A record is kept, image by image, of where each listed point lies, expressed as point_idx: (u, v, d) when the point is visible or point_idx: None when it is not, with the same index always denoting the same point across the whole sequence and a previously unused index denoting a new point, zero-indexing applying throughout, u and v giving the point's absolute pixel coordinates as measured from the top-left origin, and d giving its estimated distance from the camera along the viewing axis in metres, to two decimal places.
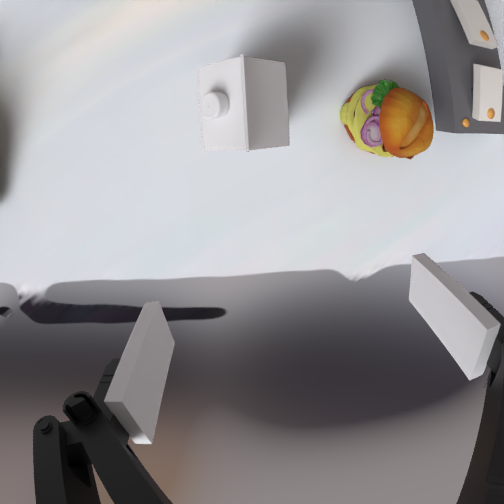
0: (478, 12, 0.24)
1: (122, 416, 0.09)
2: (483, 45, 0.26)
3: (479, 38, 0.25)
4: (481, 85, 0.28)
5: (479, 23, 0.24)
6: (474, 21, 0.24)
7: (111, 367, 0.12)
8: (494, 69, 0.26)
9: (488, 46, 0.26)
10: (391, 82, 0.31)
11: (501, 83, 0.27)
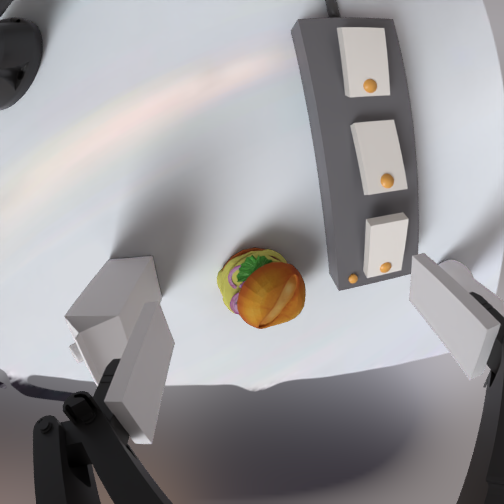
0: (388, 142, 0.31)
1: (123, 415, 0.09)
2: None
3: (376, 189, 0.32)
4: (371, 246, 0.35)
5: (384, 162, 0.31)
6: (376, 162, 0.31)
7: (111, 366, 0.12)
8: (394, 222, 0.33)
9: None
10: (258, 257, 0.39)
11: (404, 233, 0.34)
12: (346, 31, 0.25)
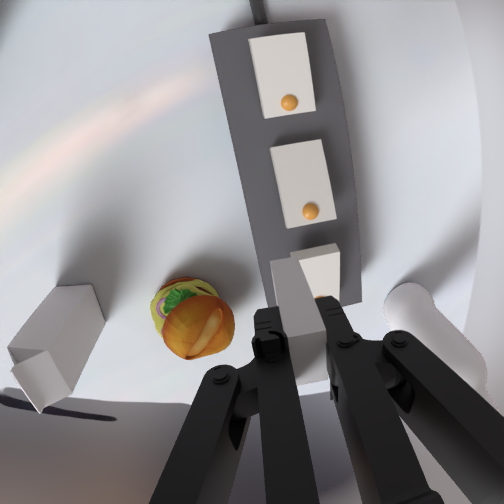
0: (313, 166, 0.29)
1: (298, 352, 0.11)
2: None
3: (297, 221, 0.30)
4: None
5: (307, 190, 0.30)
6: (297, 190, 0.30)
7: (260, 315, 0.14)
8: (321, 256, 0.32)
9: None
10: (182, 291, 0.37)
11: (337, 266, 0.33)
12: (256, 42, 0.23)
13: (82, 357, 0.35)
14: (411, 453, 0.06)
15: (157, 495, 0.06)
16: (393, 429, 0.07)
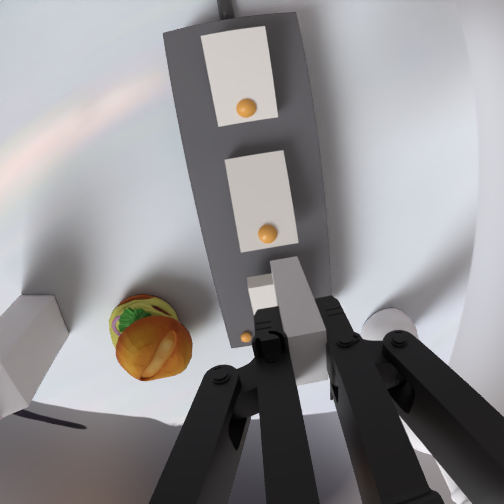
0: (272, 181, 0.26)
1: (298, 352, 0.11)
2: None
3: (252, 244, 0.27)
4: (255, 308, 0.30)
5: (265, 209, 0.26)
6: (253, 209, 0.26)
7: (260, 315, 0.14)
8: None
9: None
10: (135, 310, 0.33)
11: None
12: (207, 40, 0.20)
13: (41, 370, 0.31)
14: (411, 453, 0.06)
15: (157, 495, 0.06)
16: (393, 429, 0.07)
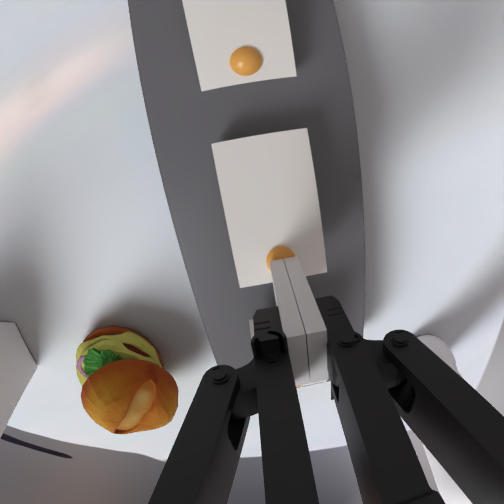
0: (290, 178, 0.16)
1: (297, 352, 0.11)
2: None
3: (257, 276, 0.18)
4: None
5: (277, 222, 0.17)
6: (258, 223, 0.17)
7: (259, 315, 0.14)
8: None
9: None
10: (101, 352, 0.24)
11: None
12: None
13: (3, 414, 0.22)
14: (412, 453, 0.06)
15: (156, 496, 0.06)
16: (394, 429, 0.07)
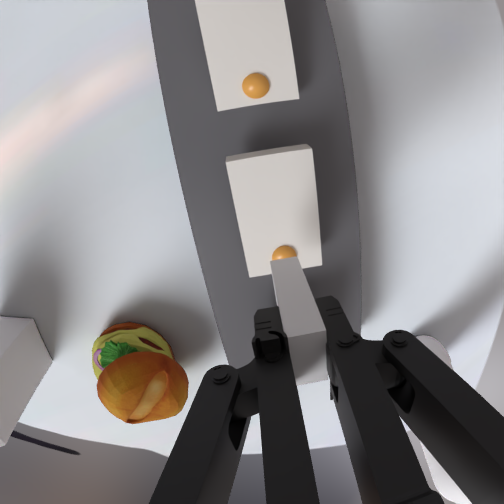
0: (294, 192, 0.18)
1: (298, 352, 0.11)
2: None
3: (264, 269, 0.21)
4: None
5: (282, 227, 0.20)
6: (266, 228, 0.20)
7: (260, 315, 0.14)
8: None
9: None
10: (118, 344, 0.26)
11: None
12: None
13: (19, 404, 0.24)
14: (411, 453, 0.06)
15: (157, 495, 0.06)
16: (393, 429, 0.07)
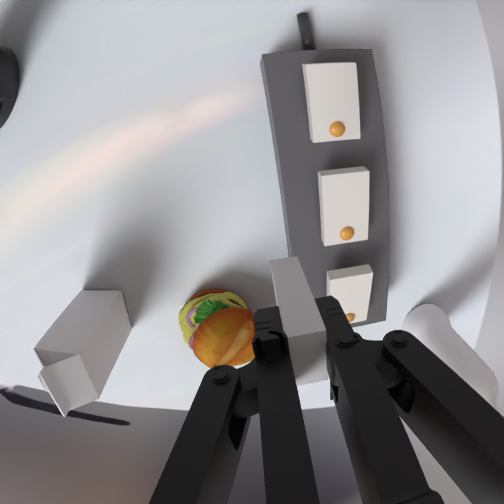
0: (357, 195, 0.30)
1: (298, 352, 0.11)
2: None
3: (334, 240, 0.33)
4: None
5: (347, 215, 0.32)
6: (338, 216, 0.31)
7: (260, 315, 0.14)
8: (356, 276, 0.33)
9: None
10: (214, 302, 0.38)
11: (368, 286, 0.34)
12: (311, 69, 0.25)
13: (110, 362, 0.36)
14: (411, 453, 0.06)
15: (157, 495, 0.06)
16: (393, 429, 0.07)
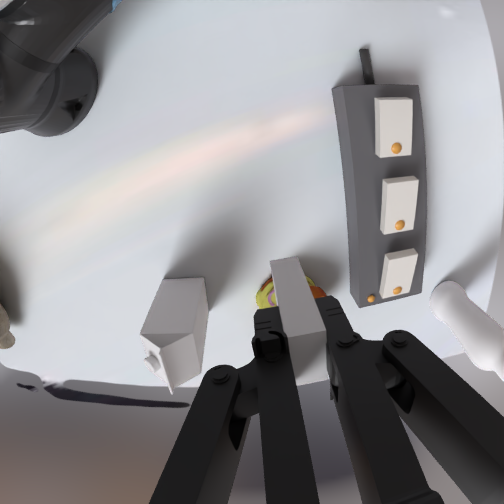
0: (409, 197, 0.39)
1: (298, 352, 0.11)
2: None
3: (390, 230, 0.42)
4: (388, 274, 0.44)
5: (401, 212, 0.40)
6: (395, 212, 0.40)
7: (260, 315, 0.14)
8: (406, 257, 0.42)
9: None
10: None
11: (414, 265, 0.43)
12: (382, 103, 0.33)
13: (203, 341, 0.45)
14: (411, 453, 0.06)
15: (157, 495, 0.06)
16: (393, 429, 0.07)
